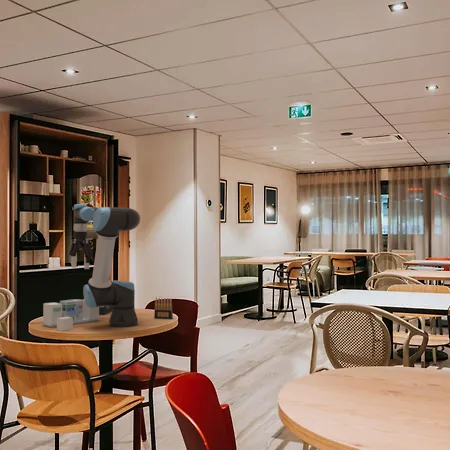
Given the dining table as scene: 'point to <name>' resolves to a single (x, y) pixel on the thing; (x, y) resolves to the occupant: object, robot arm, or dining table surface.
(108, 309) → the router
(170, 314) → the ammunition clip
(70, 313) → the light bulb box
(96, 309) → the rail assembly
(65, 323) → the block
